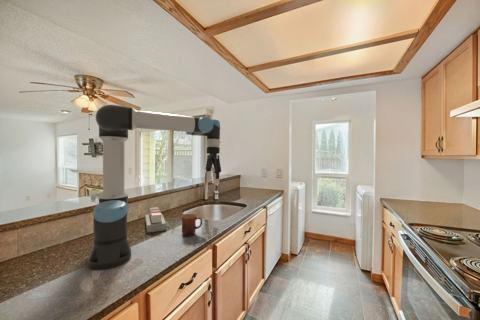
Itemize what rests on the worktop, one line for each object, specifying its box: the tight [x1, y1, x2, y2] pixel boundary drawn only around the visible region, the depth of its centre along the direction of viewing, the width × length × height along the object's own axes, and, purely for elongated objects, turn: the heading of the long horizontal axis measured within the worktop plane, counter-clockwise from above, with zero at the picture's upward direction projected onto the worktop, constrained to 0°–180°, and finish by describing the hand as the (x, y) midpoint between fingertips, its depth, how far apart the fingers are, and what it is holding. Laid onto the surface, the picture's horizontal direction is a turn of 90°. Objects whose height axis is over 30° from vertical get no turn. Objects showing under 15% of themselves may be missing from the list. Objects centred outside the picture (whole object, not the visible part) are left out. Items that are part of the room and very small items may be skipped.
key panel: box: [145, 212, 167, 233], centre depth 126 cm, size 10×23×4 cm, turn 27°
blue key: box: [149, 206, 160, 217], centre depth 133 cm, size 5×5×4 cm
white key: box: [151, 212, 161, 223], centre depth 119 cm, size 5×5×4 cm
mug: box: [180, 213, 203, 237], centre depth 112 cm, size 12×9×10 cm
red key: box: [151, 209, 161, 213], centre depth 126 cm, size 5×5×4 cm
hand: (212, 183), depth 117 cm, fingers open, 13 cm apart
